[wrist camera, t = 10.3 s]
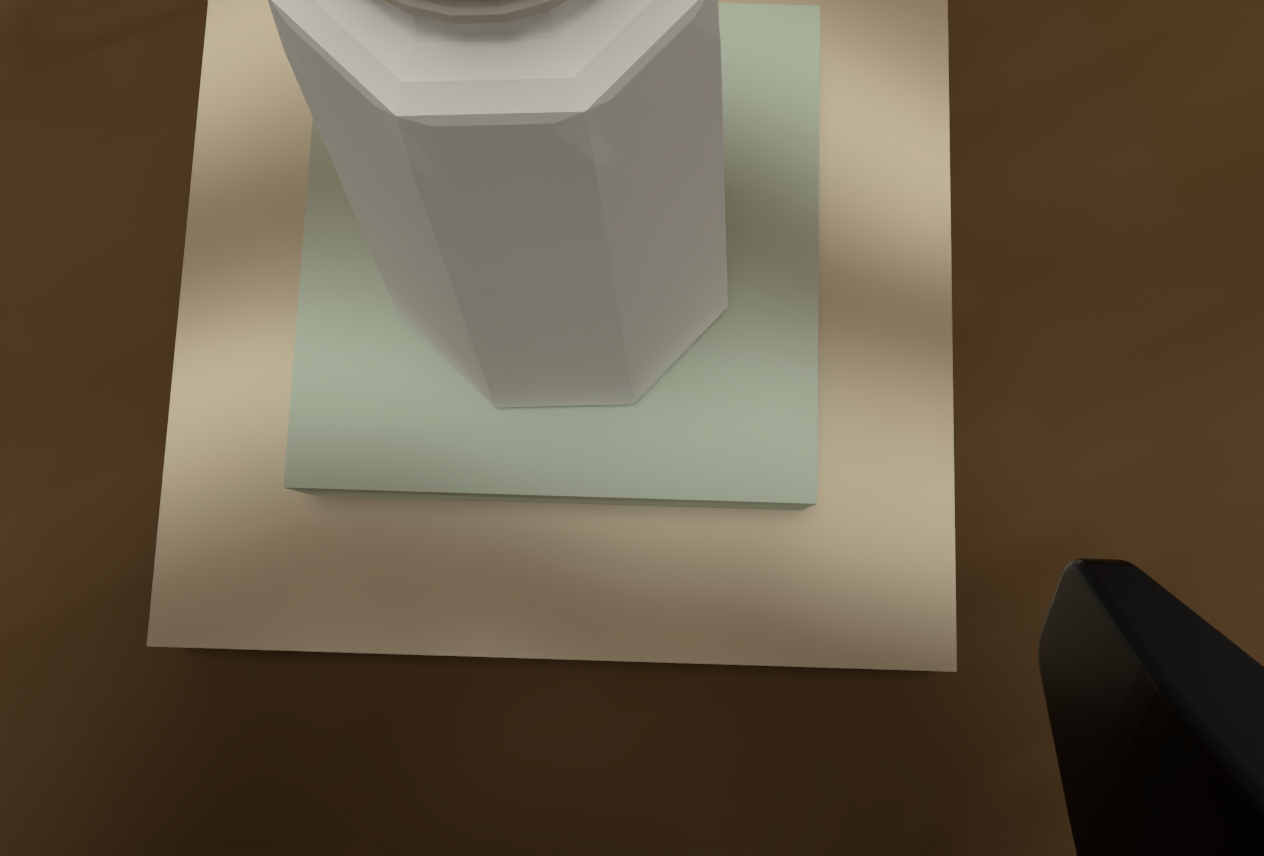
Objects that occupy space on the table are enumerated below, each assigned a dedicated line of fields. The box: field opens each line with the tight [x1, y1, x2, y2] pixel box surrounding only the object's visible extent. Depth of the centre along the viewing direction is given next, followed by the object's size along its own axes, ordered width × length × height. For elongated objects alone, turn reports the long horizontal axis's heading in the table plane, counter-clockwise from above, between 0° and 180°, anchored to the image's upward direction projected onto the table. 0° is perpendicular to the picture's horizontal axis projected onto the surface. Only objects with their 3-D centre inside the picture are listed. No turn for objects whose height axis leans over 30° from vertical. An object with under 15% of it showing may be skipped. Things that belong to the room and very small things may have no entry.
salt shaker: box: [268, 0, 728, 408], centre depth 11 cm, size 5×5×11 cm
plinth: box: [147, 0, 957, 672], centre depth 18 cm, size 13×13×3 cm
